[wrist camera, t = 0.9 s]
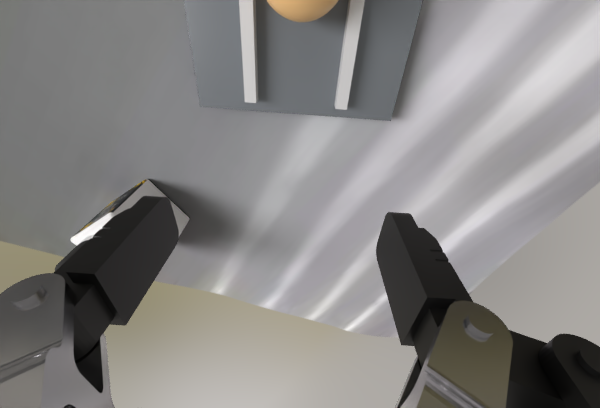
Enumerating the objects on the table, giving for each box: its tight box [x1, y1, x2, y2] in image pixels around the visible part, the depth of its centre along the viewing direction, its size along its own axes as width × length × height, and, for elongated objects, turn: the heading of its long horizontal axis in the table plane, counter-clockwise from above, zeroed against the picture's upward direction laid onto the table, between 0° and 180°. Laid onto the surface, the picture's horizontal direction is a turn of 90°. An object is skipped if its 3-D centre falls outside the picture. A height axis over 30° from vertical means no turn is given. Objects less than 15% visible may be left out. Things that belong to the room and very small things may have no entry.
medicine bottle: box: [55, 179, 189, 271], centre depth 28 cm, size 7×7×12 cm
